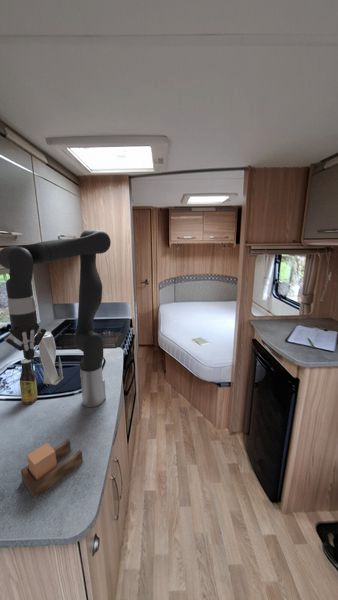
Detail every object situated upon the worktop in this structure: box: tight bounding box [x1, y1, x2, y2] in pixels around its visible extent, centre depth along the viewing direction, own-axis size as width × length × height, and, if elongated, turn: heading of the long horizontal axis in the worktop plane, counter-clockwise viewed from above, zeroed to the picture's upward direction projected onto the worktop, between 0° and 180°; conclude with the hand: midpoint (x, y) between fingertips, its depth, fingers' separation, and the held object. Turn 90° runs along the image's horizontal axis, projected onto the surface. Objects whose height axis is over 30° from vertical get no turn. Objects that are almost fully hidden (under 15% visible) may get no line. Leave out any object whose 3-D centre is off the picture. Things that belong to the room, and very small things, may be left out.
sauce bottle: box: [19, 358, 38, 405], centre depth 109 cm, size 6×6×20 cm
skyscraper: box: [38, 331, 65, 386], centre depth 123 cm, size 8×8×28 cm
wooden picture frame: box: [20, 438, 84, 499], centre depth 77 cm, size 15×8×4 cm, turn 142°
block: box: [26, 442, 58, 481], centre depth 74 cm, size 6×5×9 cm
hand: (29, 359), depth 83 cm, fingers closed
